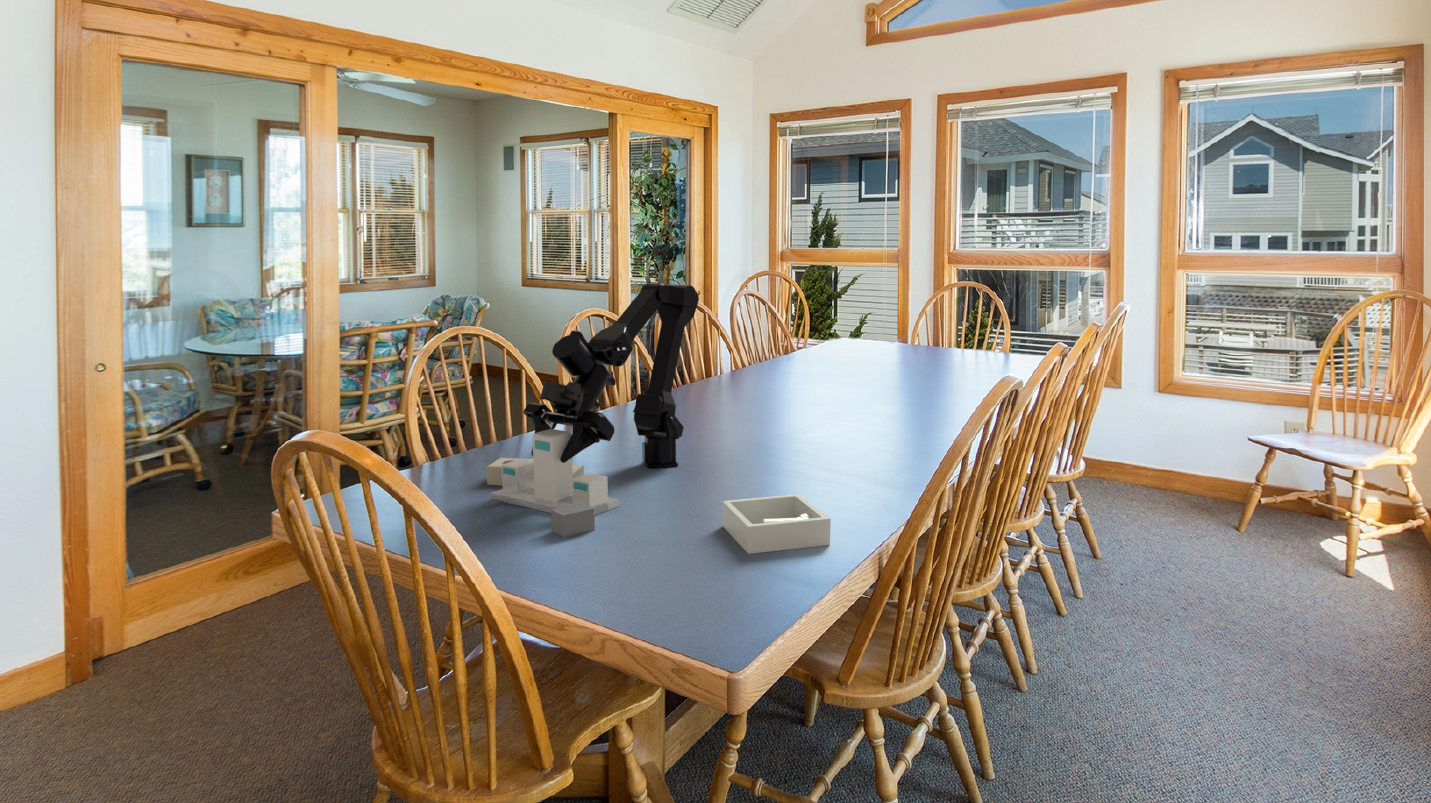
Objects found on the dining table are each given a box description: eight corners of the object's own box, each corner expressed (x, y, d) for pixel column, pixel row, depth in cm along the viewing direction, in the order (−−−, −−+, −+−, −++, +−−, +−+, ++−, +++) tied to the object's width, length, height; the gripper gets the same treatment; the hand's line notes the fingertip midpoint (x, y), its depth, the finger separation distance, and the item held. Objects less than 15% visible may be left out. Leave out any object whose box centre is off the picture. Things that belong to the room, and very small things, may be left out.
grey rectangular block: (582, 524, 159) (581, 502, 158) (594, 530, 156) (594, 508, 155) (552, 532, 155) (551, 509, 154) (564, 538, 152) (563, 515, 151)
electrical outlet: (572, 470, 179) (485, 466, 182) (573, 490, 180) (486, 485, 183) (583, 460, 186) (499, 457, 189) (584, 480, 187) (500, 476, 190)
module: (553, 490, 174) (551, 428, 172) (573, 495, 171) (571, 431, 169) (534, 497, 170) (531, 433, 167) (554, 502, 167) (551, 436, 165)
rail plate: (529, 486, 181) (527, 456, 180) (619, 505, 169) (618, 473, 168) (491, 498, 173) (489, 467, 172) (582, 520, 161) (581, 486, 159)
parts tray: (798, 518, 162) (798, 494, 161) (829, 545, 148) (830, 518, 148) (722, 525, 158) (722, 500, 157) (748, 553, 145) (748, 526, 144)
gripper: (527, 360, 174) (487, 428, 167) (602, 369, 164) (562, 441, 157) (558, 394, 182) (520, 460, 175) (631, 405, 172) (594, 475, 165)
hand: (547, 458), depth 168 cm, fingers open, 7 cm apart
